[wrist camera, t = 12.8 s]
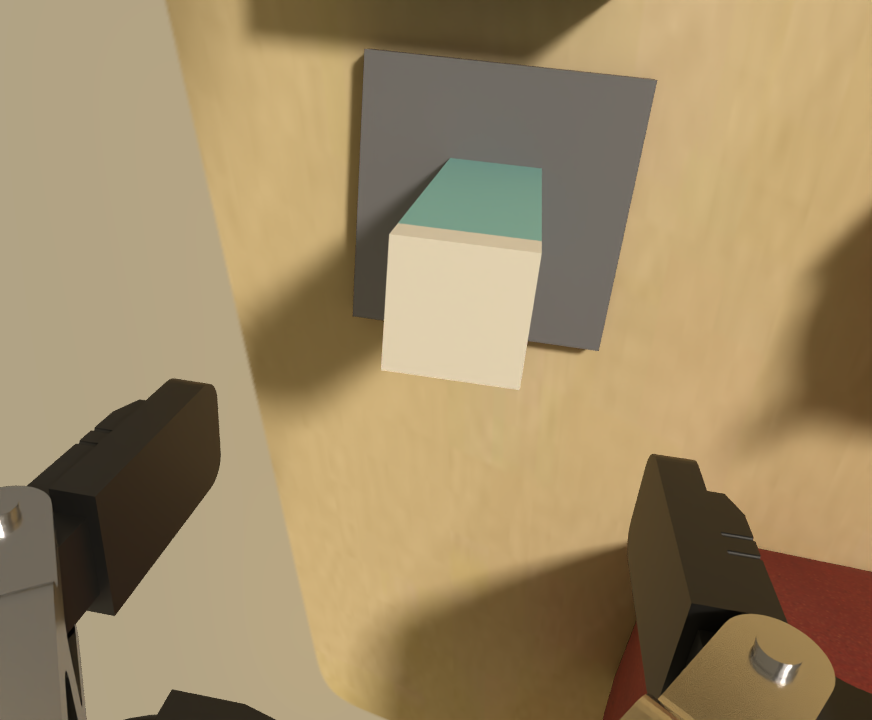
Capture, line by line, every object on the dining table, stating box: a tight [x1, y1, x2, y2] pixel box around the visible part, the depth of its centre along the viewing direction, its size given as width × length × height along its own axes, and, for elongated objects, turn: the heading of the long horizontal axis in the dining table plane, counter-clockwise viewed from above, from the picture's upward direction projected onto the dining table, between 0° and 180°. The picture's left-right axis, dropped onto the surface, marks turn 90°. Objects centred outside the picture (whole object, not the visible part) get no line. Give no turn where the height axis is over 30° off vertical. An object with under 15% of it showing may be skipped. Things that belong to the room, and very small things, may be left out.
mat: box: [353, 49, 657, 351], centre depth 31 cm, size 12×12×1 cm
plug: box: [381, 158, 542, 390], centre depth 25 cm, size 4×4×13 cm
